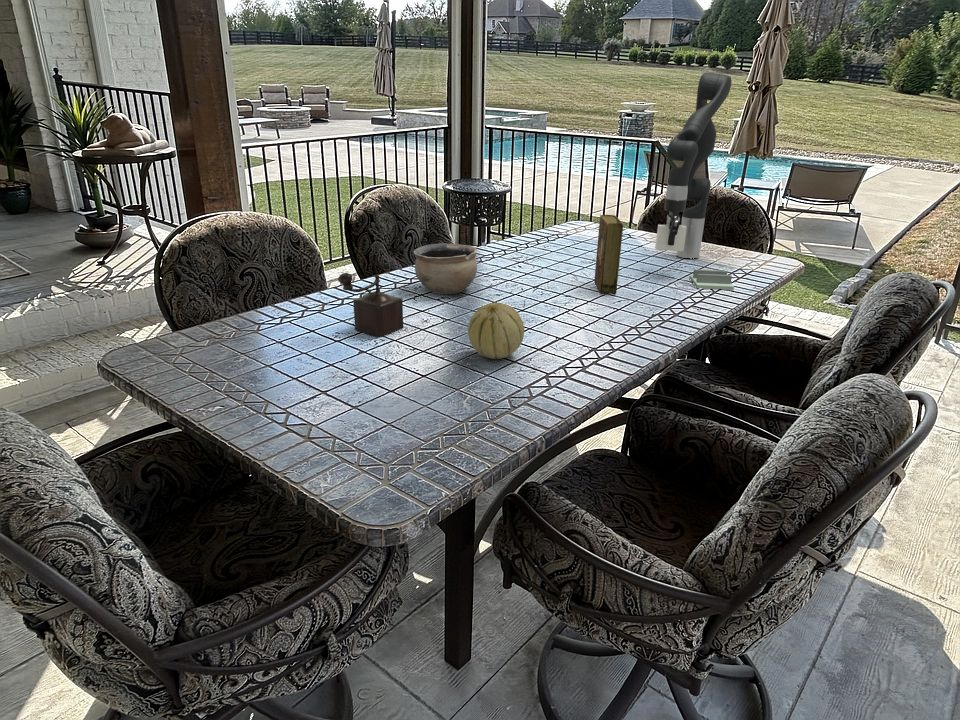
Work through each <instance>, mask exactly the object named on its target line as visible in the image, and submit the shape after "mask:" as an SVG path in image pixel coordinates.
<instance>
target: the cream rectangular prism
mask: <svg viewBox="0 0 960 720" xmlns="http://www.w3.org/2000/svg"><path fill="white" fill-rule="evenodd" d="M686 229H687V227H686V226H685V225H681V224H679V228H678V232H677V235H676V236H675V241H674V245H673V246H672V245H668V238H669V228H668V225H667V224H657V231H656V238H655V239H656V240H655V248H654V249H655V251H669V252H670V251H671V252H673V251H675V252H678V251H684V244H685V237H686ZM672 231H675V230H672Z"/></svg>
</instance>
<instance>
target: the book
mask: <svg viewBox="0 0 960 720" xmlns="http://www.w3.org/2000/svg"><path fill="white" fill-rule="evenodd" d="M623 230H624V222H623V221H622V220H620V218H619V217H617V216H616V214H615V215H614V214H600V215H599V225H598V234H597V235H598V236H597V246H596V257H595V258H596V259H595V267H594V269H595V270H594V282H593V283H595V284H594V286H595V285H596V286H595V288H596V287H597V288H596V290H597V289H598V290H597V291H599V292H598V293H599V294H600V295H604V294H606V295H607V294H608V295H615V294H616V295H617V289H618V280H619V272H620V271H619V270H620V260H621V251H622V250H621V249H622V244H623V243H622V242H623Z"/></svg>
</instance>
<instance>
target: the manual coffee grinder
mask: <svg viewBox="0 0 960 720" xmlns="http://www.w3.org/2000/svg"><path fill="white" fill-rule="evenodd" d="M374 278H375V279H374V281H373V282H372V283H371V284H369V285H367V286H364V287H362V288H355V289H354V286H353V285H352V281H353V275H352V273H349V272H342V273H341V274H339V276H338V279H337V280H338V283H340V285H342V289H343V290H344V291H349V292H352V293H353V292H354V293H361V292H364V291H367V293H366V294H363V295H362V296H360V297H358V298H354V299H353V300H352V302H353V315H354V316H353V317H354V318H353V319H354V330H355V331H356V332H359V333H362V334H365V335H367V336H371V337H376V338H383V337H385V336H388V335H391V334H394V333H396V332H398V331H400V330H403V329H404V310H403V309H404V305H403V298H401V297H398V296H395V295H390V294H387V293H384V292H382V291H380V283H381V280H380V275H379V274H375V275H374ZM374 287H375V291H371V288H374Z"/></svg>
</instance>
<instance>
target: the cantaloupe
mask: <svg viewBox="0 0 960 720" xmlns="http://www.w3.org/2000/svg"><path fill="white" fill-rule="evenodd" d="M524 336H525V325H524V321H523V319H522V317H521V316H520V313H519V312H518V311H517V310H516V309H515V308H514V307H512V306H511V305H509V304H507V303H504V302H503V303H502V302H498V301H497V302H491V303H486V304H484V305H482V306H480V307H479V308H478V309H476V311H474V313H473V314H472V316H471V318H470V319H469V322H468V325H467V337H468V339H469V342H470V344H471V346H472V348H473V349H474V351H475V352H476V353H478V354H479V355H480V356H482V357H485V358H487V359H491V360H492V359H493V360H496V359H504V358H506V357H509V356H511V355H513V354H514V353H515V352H516V351H517V350H518V349H519V348H520V347H521V345H522V343H523V340H524Z"/></svg>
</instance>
